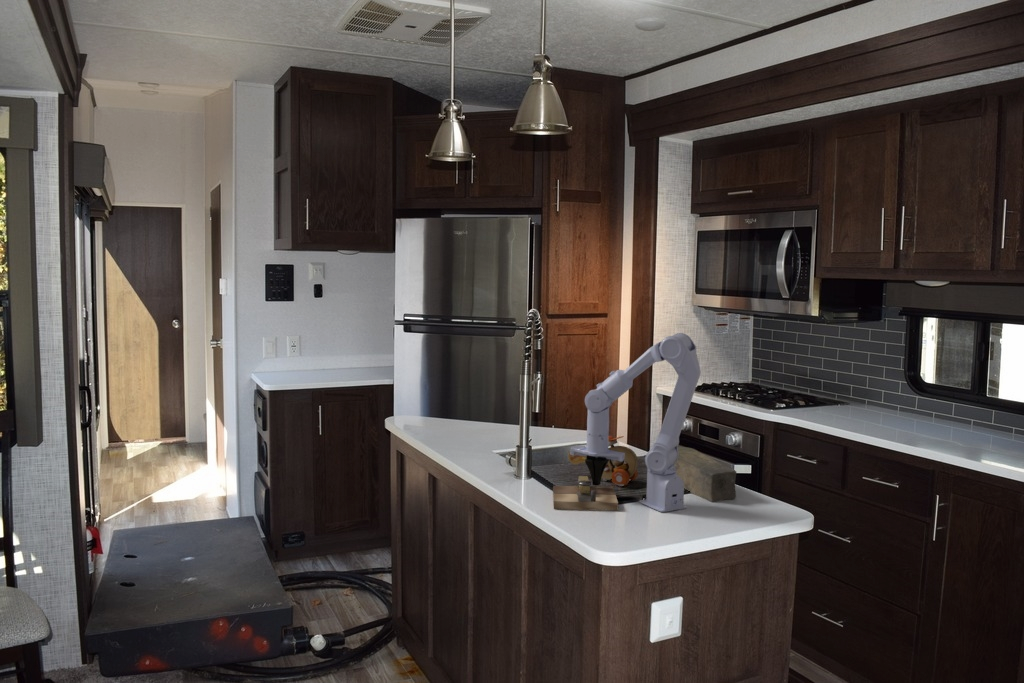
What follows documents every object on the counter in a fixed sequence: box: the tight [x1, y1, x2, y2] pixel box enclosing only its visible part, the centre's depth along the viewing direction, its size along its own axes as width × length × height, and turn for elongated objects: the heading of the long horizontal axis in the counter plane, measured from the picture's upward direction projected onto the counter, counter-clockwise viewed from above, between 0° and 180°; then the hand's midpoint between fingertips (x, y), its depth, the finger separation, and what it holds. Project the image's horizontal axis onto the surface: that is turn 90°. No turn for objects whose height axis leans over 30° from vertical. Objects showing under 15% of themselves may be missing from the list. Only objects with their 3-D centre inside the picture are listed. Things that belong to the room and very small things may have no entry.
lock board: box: [552, 485, 619, 512], centre depth 214 cm, size 16×14×5 cm
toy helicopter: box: [567, 435, 639, 486], centre depth 233 cm, size 8×21×14 cm, turn 60°
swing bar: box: [578, 475, 592, 493], centre depth 217 cm, size 10×3×3 cm, turn 178°
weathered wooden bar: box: [674, 446, 737, 503], centre depth 227 cm, size 10×26×10 cm, turn 25°
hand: (596, 484), depth 219 cm, fingers closed
